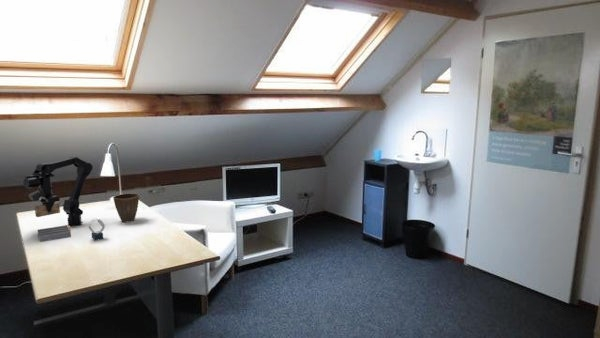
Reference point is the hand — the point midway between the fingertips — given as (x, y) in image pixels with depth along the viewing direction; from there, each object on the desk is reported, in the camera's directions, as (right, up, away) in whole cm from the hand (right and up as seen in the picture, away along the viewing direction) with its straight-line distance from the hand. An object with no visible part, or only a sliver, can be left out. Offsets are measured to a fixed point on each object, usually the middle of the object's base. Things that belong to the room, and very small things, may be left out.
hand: (47, 211), depth 234 cm
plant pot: (+36, -8, +23) cm, 44 cm away
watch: (+34, -14, -11) cm, 38 cm away
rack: (+7, -13, -6) cm, 16 cm away
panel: (0, -2, 0) cm, 2 cm away
